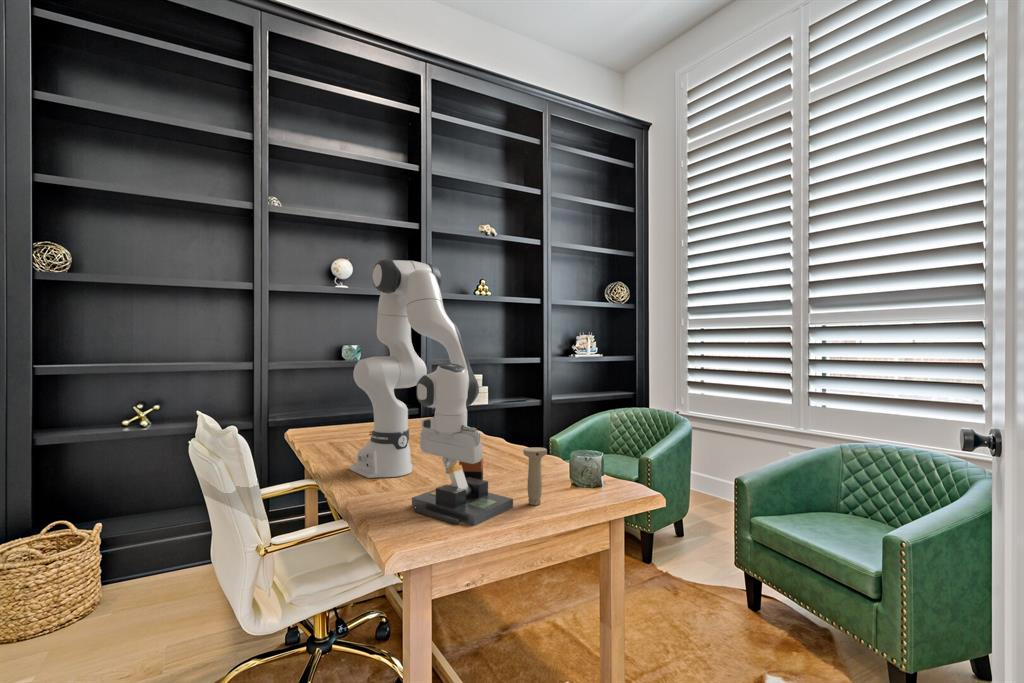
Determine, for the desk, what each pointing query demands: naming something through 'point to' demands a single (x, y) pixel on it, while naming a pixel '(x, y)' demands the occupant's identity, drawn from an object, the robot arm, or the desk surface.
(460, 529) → the desk surface
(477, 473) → the battery
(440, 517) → the dark grey flat slab
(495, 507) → the panel
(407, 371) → the robot arm
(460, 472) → the lever
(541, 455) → the handle
